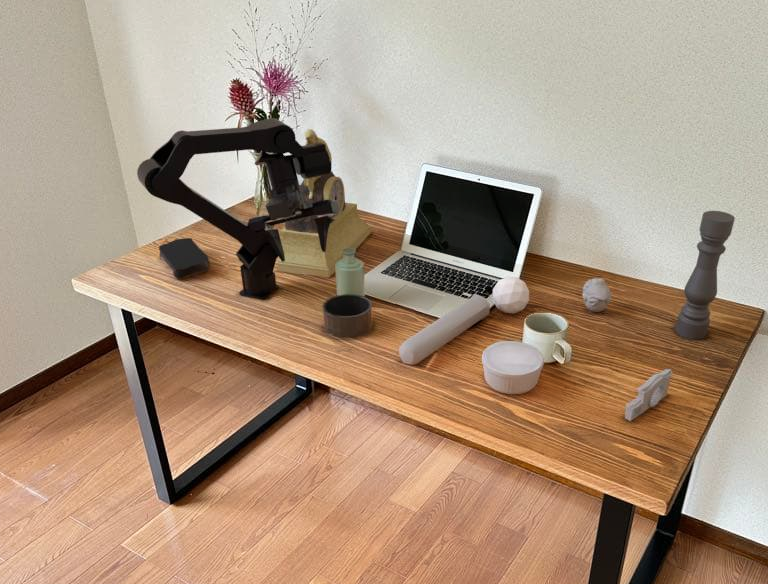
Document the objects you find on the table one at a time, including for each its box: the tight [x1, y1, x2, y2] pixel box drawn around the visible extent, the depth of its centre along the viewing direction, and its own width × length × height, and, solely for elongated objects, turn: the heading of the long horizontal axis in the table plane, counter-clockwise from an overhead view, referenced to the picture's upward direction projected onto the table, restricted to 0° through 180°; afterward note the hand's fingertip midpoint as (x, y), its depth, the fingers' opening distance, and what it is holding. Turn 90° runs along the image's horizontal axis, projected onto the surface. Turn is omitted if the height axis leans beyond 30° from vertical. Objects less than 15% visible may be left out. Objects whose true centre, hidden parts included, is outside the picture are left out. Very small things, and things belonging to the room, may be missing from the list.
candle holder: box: [674, 210, 736, 340], centre depth 143 cm, size 6×6×25 cm
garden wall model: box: [624, 368, 674, 422], centre depth 125 cm, size 12×2×6 cm, turn 133°
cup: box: [321, 294, 373, 339], centre depth 148 cm, size 10×10×5 cm
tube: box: [397, 293, 491, 366], centre depth 144 cm, size 5×5×25 cm
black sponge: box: [158, 237, 211, 280], centre depth 171 cm, size 16×8×4 cm, turn 33°
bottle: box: [335, 248, 366, 298], centre depth 155 cm, size 6×6×12 cm
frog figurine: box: [581, 277, 612, 313], centre depth 155 cm, size 6×7×7 cm
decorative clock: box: [276, 128, 372, 278], centre depth 172 cm, size 28×13×30 cm, turn 164°
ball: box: [492, 276, 530, 314], centre depth 154 cm, size 8×8×8 cm
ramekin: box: [481, 340, 545, 395], centre depth 132 cm, size 11×11×5 cm
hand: (303, 256), depth 154 cm, fingers open, 9 cm apart
